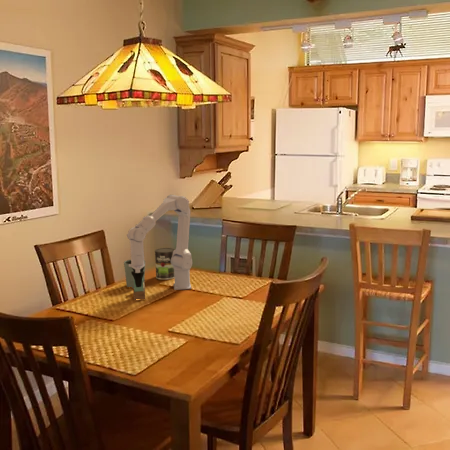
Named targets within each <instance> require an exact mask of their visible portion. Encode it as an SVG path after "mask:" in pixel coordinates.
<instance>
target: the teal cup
mask: <svg viewBox="0 0 450 450" xmlns="http://www.w3.org/2000/svg"><path fill="white" fill-rule="evenodd" d="M129 264H131V259H127V260H125V261H124V262H123V265H124V266H123V267H124V274H125V282H126V283H125V285H126V287H127V288H128V287H132V288H131V289H134V277H133V275H132V274H131V272H132V271H133V269H132V267H129ZM144 264H145V265H146V260H145V259H144ZM145 271H146V267H145V268H144V270H143V272H145ZM145 273H146V272H145ZM145 273H144V275H143V282H144V283H146V282H145V276H146V275H145Z"/></svg>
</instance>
